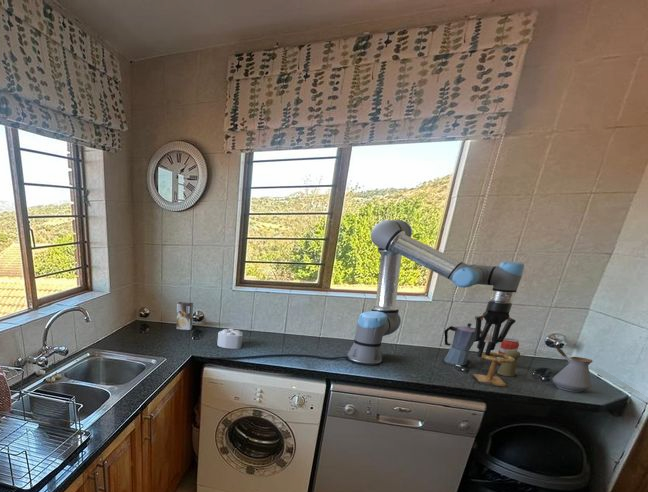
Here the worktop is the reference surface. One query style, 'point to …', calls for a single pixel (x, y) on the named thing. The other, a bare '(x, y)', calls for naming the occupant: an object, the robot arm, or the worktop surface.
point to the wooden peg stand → (490, 376)
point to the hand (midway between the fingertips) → (482, 356)
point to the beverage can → (508, 346)
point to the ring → (506, 358)
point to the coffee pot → (573, 374)
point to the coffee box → (184, 315)
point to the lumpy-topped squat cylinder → (230, 339)
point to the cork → (509, 364)
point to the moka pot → (460, 344)
